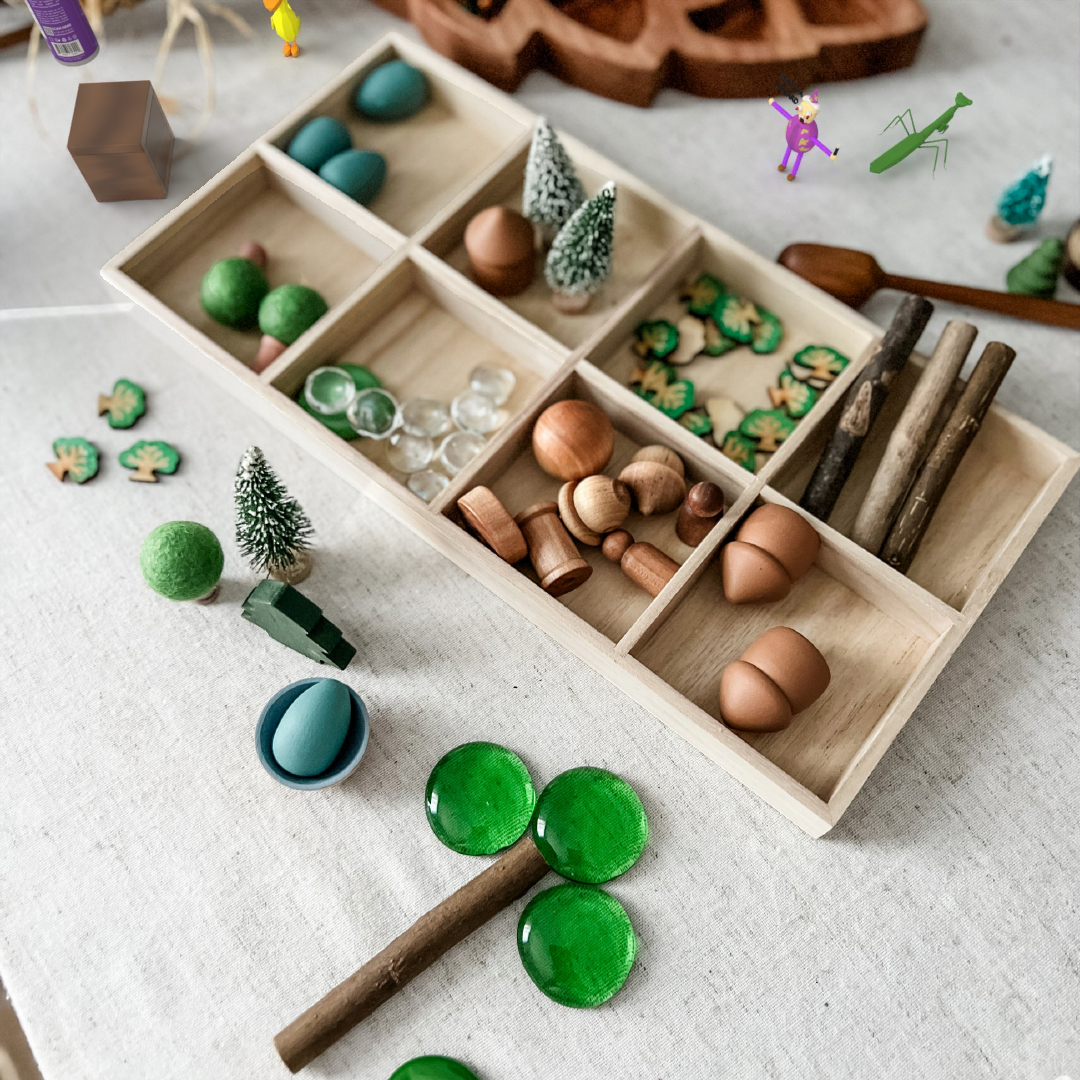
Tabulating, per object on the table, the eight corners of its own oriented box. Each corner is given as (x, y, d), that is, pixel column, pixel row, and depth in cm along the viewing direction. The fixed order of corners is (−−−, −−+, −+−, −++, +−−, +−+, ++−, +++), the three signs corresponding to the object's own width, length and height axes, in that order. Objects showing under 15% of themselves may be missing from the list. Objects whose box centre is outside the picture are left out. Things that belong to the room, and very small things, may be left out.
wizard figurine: (748, 150, 113) (771, 62, 102) (768, 139, 114) (793, 51, 103) (811, 208, 109) (841, 123, 98) (831, 196, 110) (864, 111, 99)
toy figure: (300, 71, 118) (276, -21, 108) (272, 69, 119) (245, -22, 108) (309, 35, 121) (287, -58, 110) (282, 33, 121) (257, -59, 110)
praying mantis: (981, 150, 113) (998, 118, 109) (894, 206, 109) (908, 176, 105) (924, 105, 116) (938, 73, 112) (837, 159, 112) (848, 127, 108)
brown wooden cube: (97, 202, 109) (66, 147, 102) (108, 139, 113) (78, 83, 106) (166, 198, 109) (140, 143, 102) (174, 136, 114) (150, 79, 106)
